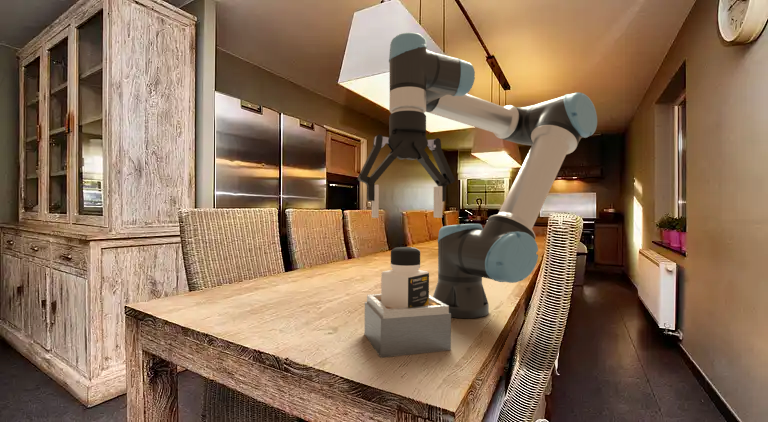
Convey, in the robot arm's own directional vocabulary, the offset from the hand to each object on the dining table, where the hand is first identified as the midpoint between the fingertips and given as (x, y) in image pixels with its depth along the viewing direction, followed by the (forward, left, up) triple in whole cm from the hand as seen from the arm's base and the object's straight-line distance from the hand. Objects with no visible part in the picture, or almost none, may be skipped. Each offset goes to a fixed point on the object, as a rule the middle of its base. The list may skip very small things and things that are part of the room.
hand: (407, 217), depth 74 cm
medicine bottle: (0, 0, -18) cm, 18 cm away
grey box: (0, 0, -25) cm, 25 cm away
